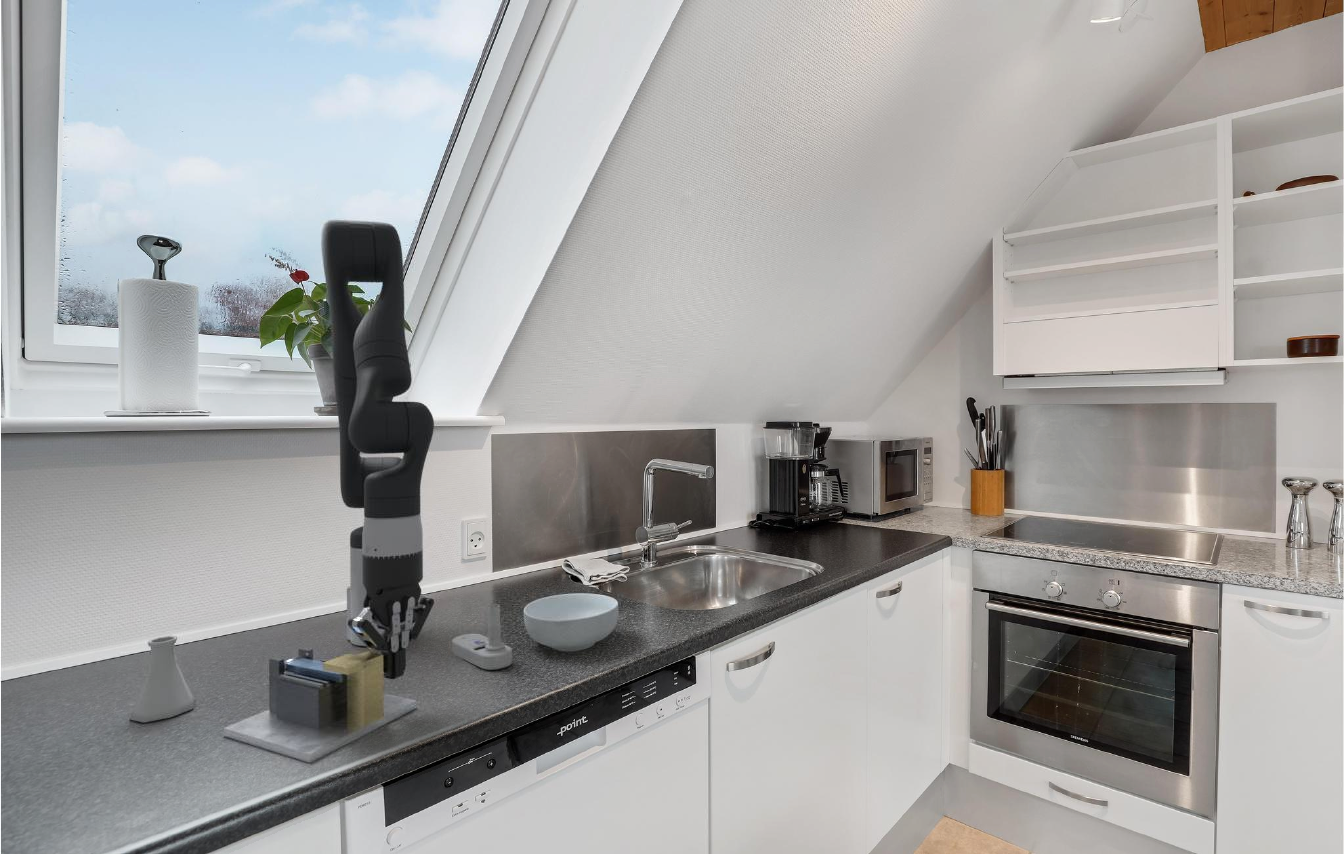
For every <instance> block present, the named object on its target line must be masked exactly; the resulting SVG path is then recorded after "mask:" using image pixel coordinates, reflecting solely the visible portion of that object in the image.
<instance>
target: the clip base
mask: <svg viewBox="0 0 1344 854" xmlns="http://www.w3.org/2000/svg"><path fill="white" fill-rule="evenodd" d="M298 656H303V658H305V659H310V660H314V649H313V648H309V647H299V648H298ZM284 661H285V659H284V658H282V657H281V658H280V657H277V656H273V657H270V658H268V671H269V672H268V674H269V675H268V680H269V681H268V685H269V687H268V688H269V689H268V690H269V691H268V694H269V695H268V696H269V698H268V699H269V700H268V702H269V704H268V706H269V709H267V710H265V711H261V712H260V713H257V714H255V715H252V716H249V717H247V718H245V719H243V720H240V721H238V722H236V723H233V724H230V725H228V726H225V727H223V737H226V738H230V739H233V740H236V741H239V742H241V743H244V744H249V745H251V746H254V747H258V748H260V749H263V750H267V751H271V752H274V753H277V754H280V755H284V756H286V757H290V758H292V759H293V758H294V759H297V760H299V761H302V762H306V763H309V764H310V763H313V762H315V761H316V760H319V759H320V758H322V757H325V756H326V755H328V754H330V753H332V752H334V751H336V750H338V749H340V748H342V747H344V746H345V745H347V744H350V743H351V742H353V741H355V740H357V739H359V738H361V737H364V736H365V735H368V734H369V733H371V732H373V731H375V730H377V729H378V728H380V727H382V726H385V725H386V724H388V723H390V722H392V721H394V720H396V719H398V718H400V717H402V716H403V715H405V714H407V713H409V712H411V711H413V710H415V709H417V699H415V700H414V699H411V698H406V697H402V696H397V695H393V694H389V693H385V692H383V697H384V717H383V718H381V719H379V720H377V721H375V722H373V723H371V724H369V725H367V726H365V727H362V726H358V725H355V724H351V723H347V680H345V681H342V682H336V681H331V680H326V679H321V678H316V677H311V676H306V675H301V674H296V673H291V672H284ZM319 661H321V662H327V661H330V659H329V660H328V659H323V658H322V659H320V660H319Z"/></svg>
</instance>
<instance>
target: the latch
mask: <svg viewBox="0 0 1344 854" xmlns="http://www.w3.org/2000/svg"><path fill="white" fill-rule="evenodd" d="M323 669H324V670H328V671H333V672H337V673H342V674H346V675H347V723H351V724H355V725H358V726H362V727H365V726H367V725H369V724H371V723H373V722H375V721H377V720H379V719H381V718H383V717H384V697H383V693H384V675H383V654H381V653H378V652H372V651H369V650H367V651H364V652H361V653H359V654H353V653H346V654H343V655H341V656H338V657H336V658H332V659H329V661H327V662H324V663H323Z"/></svg>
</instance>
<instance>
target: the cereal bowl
mask: <svg viewBox="0 0 1344 854" xmlns="http://www.w3.org/2000/svg"><path fill="white" fill-rule="evenodd" d="M618 619H619V602H618V600H617V599H616V598H614V597H611V596H608V595H603V594H598V593H596V594H595V593H585V592H584V593H576V592H575V593H564V594H555V595H550V596H546V597H542V598H538V599H535V600H534V601H531V602H529V603H528V604H526V605H525V607H524V608H523V622H524V628H525V630H526V633H528V636H529V637H530V638H531V639H533V640H534V641H535V642H536V643H539V644H540V645H544V646H545V647H546V646H547V647H549V648H551V649H553V650H555V651H558V652H576V651H577V652H579V651H583V650H586V649H589V648H591V647H593V646H594V645H595V643H597V642H600V641H602V640H604V639H605V638H607V636H609V635H610V634H611V633H612V632H613V630H614V629H615V628H616V625H617V623H618Z"/></svg>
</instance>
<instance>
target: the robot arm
mask: <svg viewBox="0 0 1344 854" xmlns="http://www.w3.org/2000/svg"><path fill="white" fill-rule="evenodd" d="M320 244H321V245H320V247H321V257H322V265H323V270H324V272H323V273H324V278H325V285H326V293H327V299H328V301H327V302H328V306H329V307H328V308H329V316H330V325H331V341H332V342H331V344H332V346H331V347H332V369H333V382H334V391H335V392H334V393H335V399H336V408H337V409H336V410H337V417H338V418H337V420H338V429H339V477H340V480H339V481H340V494H341V499H342V501H343V504H344V505H345V506H346V507H348V508H351V509H363V517H364V518H363V525H362V526H359V527H357V528H355V529H353V530H352V531H351V532H350V536H349V546H350V547H349V556H350V557H349V562H350V567H349V568H350V570H349V571H350V572H349V574H350V580H349V581H350V585H349V586H347V588H346V639H347V640H349V641H350V643H351V644H352V645H355V646H361V647H366V648H367V649H368V650H373V651H377V652H380V654H383V678H385V679H388V680H396V679H398V678H401V677H403V675H404V674H405V670H406V666H407V662H406V657H407V656H406V655H407V654H406V653H407V652H406V651H407V647H408V646H409V643H410V642H411V641H412V640H417V639H418V637H419V635H420V633H421V631H422V629H423V627H424V625H425V623H426V621H427V619H428V617H429V615H430V613H431V610H432V609H433V606H434V605H435V600H434V598H430V597H427V596H425V595H424V594H422V588H421V586H420V583H421V582H422V580H424V579H423V578H424V565H423V564H424V550H423V549H424V548H423V547H424V545H423V543H424V542H423V541H424V540H423V539H424V538H423V535H424V534H423V525H422V516H421V485H422V484H421V483H422V477H423V473H424V472H423V471H424V468H425V463H426V459H427V455H428V452H429V449H430V446H431V442H432V439H433V434H434V429H435V422H434V417H433V414H432V412H431V411H430V409H429V407H428V406H427V405H426V404H424V403H422V402H420V401H393V400H394V398H396V397H399V396H401V395H403V394H405V393H406V392H407V391H408V390H409V389H410V388H411V385H412V383H413V382H412V380H413V379H412V370H411V366H410V357H409V352H408V346H407V340H406V339H407V338H406V333H405V332H406V331H405V284H404V283H405V282H404V281H405V280H404V264H403V263H404V261H403V250H402V249H403V248H402V244H401V237H400V235H399V233H398V231H397V229H396V227H395V226H393V224H391V223H388V222H382V221H373V220H372V221H369V220H359V219H357V220H356V219H342V218H340V219H339V218H333V219H327V220H325V222H324V223H323V225H322V227H321V231H320ZM349 283H382V285H381V289H380V292H379V294H378V296H377V298H376V300H375V301H374V302H373V305H371V307H370V309H368V311H367V312H366V314H365V315H363V314H362V312H361V310H360V309H359V307H358V305H357V304H356V302H355V300H354V299H353V297H352V296H353V295H352V294H351V291H350V288H349ZM361 453H363V454H368V455H371V454H372V455H376V454H378V455H379V454H402V453H403V456H402V458H401V457H398V456H376V457H375V456H374V457H373V456H371V457H369V456H368V457H362V456H361Z"/></svg>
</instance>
